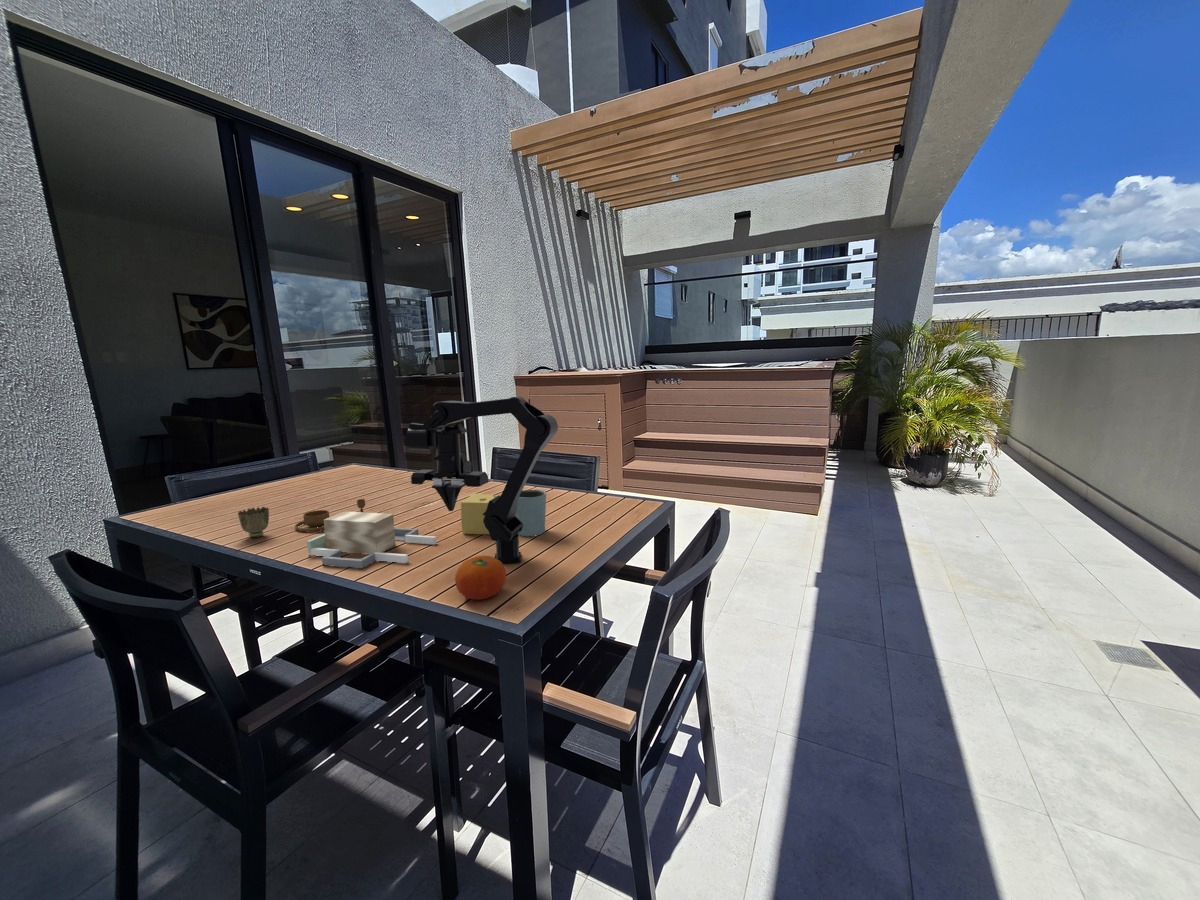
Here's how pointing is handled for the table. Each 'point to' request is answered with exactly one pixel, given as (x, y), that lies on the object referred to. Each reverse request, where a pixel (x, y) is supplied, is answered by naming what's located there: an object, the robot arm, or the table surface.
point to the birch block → (360, 532)
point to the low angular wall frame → (334, 555)
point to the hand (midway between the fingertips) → (451, 510)
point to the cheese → (474, 513)
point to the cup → (254, 521)
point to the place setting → (320, 518)
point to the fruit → (480, 577)
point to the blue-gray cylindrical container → (531, 512)
